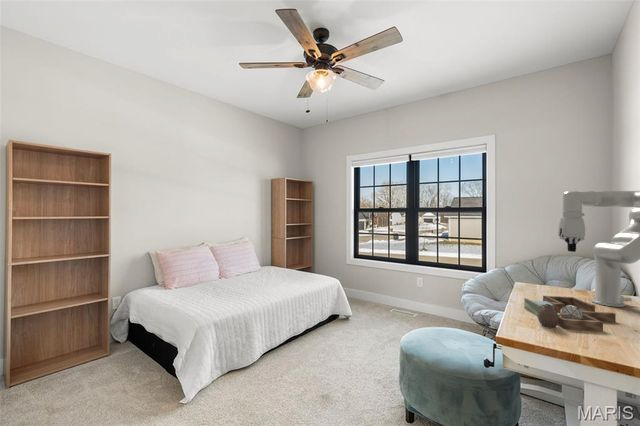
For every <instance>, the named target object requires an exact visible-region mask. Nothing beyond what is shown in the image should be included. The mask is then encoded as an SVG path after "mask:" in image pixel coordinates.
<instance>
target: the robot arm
mask: <svg viewBox="0 0 640 426" xmlns="http://www.w3.org/2000/svg"><path fill="white" fill-rule="evenodd" d="M583 207H596V208H597V207H598V208H632V209H630V211H629V214H628V221H629V222H628V225H627V226H626V227H625V228H623V229H622V230H621V231H619V232H618V233H616V234H615V235H613V237H612V238H611V241H610V242H606V241H603V242H598V243H596V244H595V245H594V246H593V248H592V254H593V257H594V258H593V259H594V262H595V263H594V264H595V266H594V267H595V273H594V275H595V277H594V281H595V286H594V287H595V288H594V291H595V292H594V293H595V294H594V297H591V298H590V301H591V302H592V303H595V304H597V305H600V306H607V307H614V308H615V307H616V308H622V307H623V308H624V307H625V306H626V304H625V302H630V303H631V302H632V300H633V299H632V297H625V296H622V294H621V293H622V291H621V290H622V287H621V286H622V285H621V284H622V270H621V267H620V265H619V263H620V264H625V265H626V264H627V265H628V264H634V263H637V262H638V261H640V190H603V191H594V190H586V191H585V190H584V191H578V190H577V191H576V190H574V191H572V190H571V191H564V192H563V194H562V218H560V220H559V223H558V233H557V234H558V237H559V240H561V241H564V242H565V243H566V244H567V251H568V252H571V253H573V252H575V253H576V250H577V245H578V243H579V242H580V241H584V240H585V237H586V225H585V220H584V218H583V217H584V216H585V213H584V212H583Z"/></svg>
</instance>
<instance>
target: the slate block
mask: <svg viewBox="0 0 640 426" xmlns="http://www.w3.org/2000/svg"><path fill="white" fill-rule="evenodd" d="M533 301H534V302H536V303H538V304H540V305H542V306H544V305H545V304H550V305H552V306H553V308H554V305H553V304H551V303H548V302H546V301H543V300H533Z"/></svg>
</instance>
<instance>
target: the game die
mask: <svg viewBox="0 0 640 426" xmlns="http://www.w3.org/2000/svg"><path fill="white" fill-rule="evenodd" d="M563 306H564V307H563V308H561V309H560V308H559V309H560V311H559V314H558V315H559V316H561V317H563V318H564V319H575V320H584V319H582V314H584V312H583V313H582V312H581V311H580V310H579V308H580V307H578V308H577V307H575V306H573V305H572V303H571V305H567V306H565V305H564V304H563Z"/></svg>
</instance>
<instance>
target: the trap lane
mask: <svg viewBox="0 0 640 426" xmlns="http://www.w3.org/2000/svg"><path fill="white" fill-rule="evenodd" d="M534 301H535V300H532V299H530V298H528V297H524V307H523V308H524V309H525V310H526V311H528V312H530V313H532V314H533V315H535V316H536V317H538V312H539V310H540V309H541V308H542V307H543V306H542V305H540V304H538V303H536V302H534ZM542 301H546V302H548V303H551V304H553V305H554V309H555V311H556V312H560V309H561V308H563V307H564V306H563V304H564V305H565V306H567V305H571V303H572V305H573V306H575V307H577V308H578V307H580V308H579V310H580V311H581V312H582V313H583V312H584V314H582V319H584V320H575V319H564V318H563V317H561V316H559V315H560V314H558V316H559V323H558V325H557V326H558V327H560V328H561V329H563V330H578V331H591V332H592V331H594V332H595V331H597V332H604V322H609V323H610V322H611V323H616V321H617V320H616V319H617V318H616V315H617V314H616V312H615V313H614V312H607V311H596V304H592V303H589V302H586V301H584V300H582V299H579V298H576V297H574V296H561V295H560V296H559V295H542ZM559 308H560V309H559Z"/></svg>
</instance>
